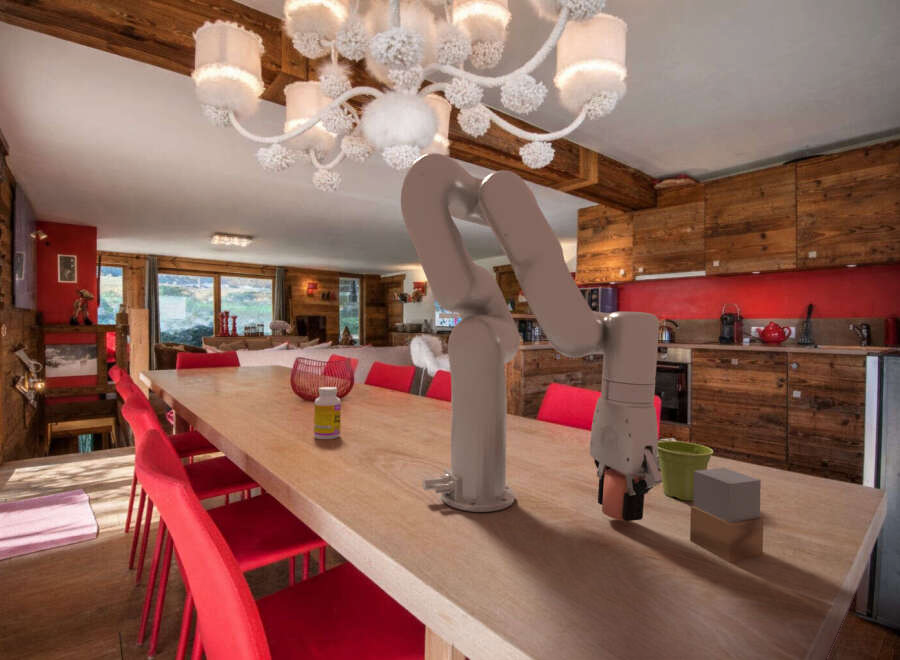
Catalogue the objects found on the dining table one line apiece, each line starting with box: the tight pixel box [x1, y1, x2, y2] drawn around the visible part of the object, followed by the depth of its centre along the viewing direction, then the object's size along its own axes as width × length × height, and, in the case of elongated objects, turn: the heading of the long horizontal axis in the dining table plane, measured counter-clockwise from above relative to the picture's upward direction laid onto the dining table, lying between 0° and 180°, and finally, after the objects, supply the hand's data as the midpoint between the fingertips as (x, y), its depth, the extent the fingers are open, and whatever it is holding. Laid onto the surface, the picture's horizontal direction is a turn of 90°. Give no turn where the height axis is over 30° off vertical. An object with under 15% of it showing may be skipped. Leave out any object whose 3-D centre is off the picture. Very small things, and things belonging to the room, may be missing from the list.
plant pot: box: [657, 440, 714, 502], centre depth 81 cm, size 9×9×9 cm
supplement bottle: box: [313, 386, 342, 440], centre depth 118 cm, size 7×7×13 cm
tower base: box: [689, 505, 764, 563], centre depth 61 cm, size 6×6×5 cm
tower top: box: [693, 467, 762, 523], centre depth 62 cm, size 6×6×5 cm
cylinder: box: [601, 469, 638, 522], centre depth 69 cm, size 5×5×6 cm
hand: (619, 510), depth 69 cm, fingers closed on cylinder, 5 cm apart
